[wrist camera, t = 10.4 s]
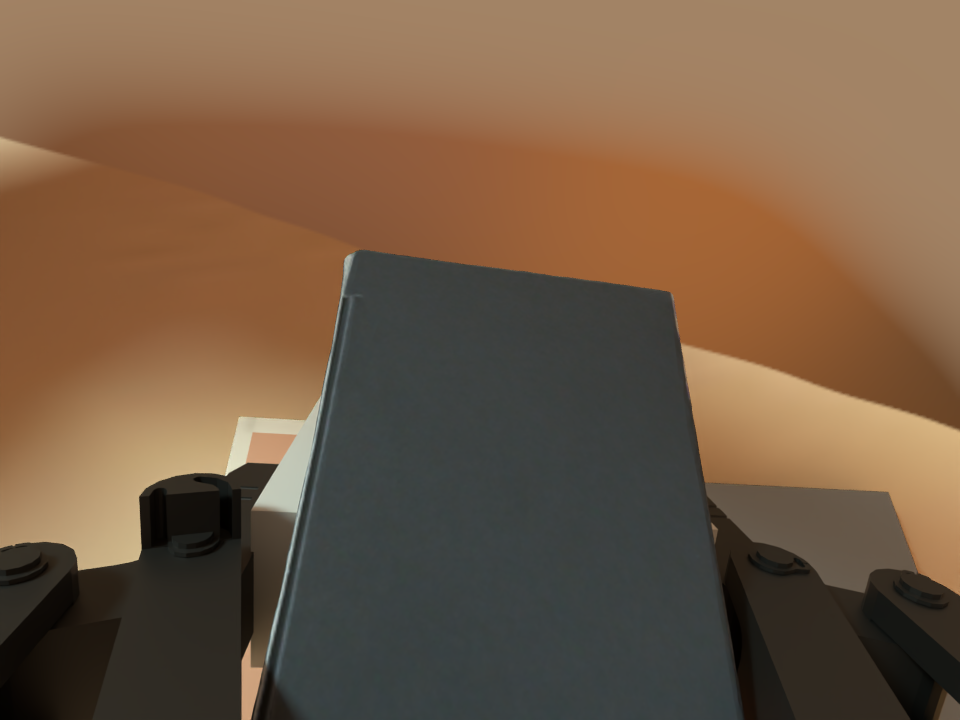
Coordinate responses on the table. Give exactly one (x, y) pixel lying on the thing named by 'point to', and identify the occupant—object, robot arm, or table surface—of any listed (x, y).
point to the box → (500, 510)
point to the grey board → (753, 508)
